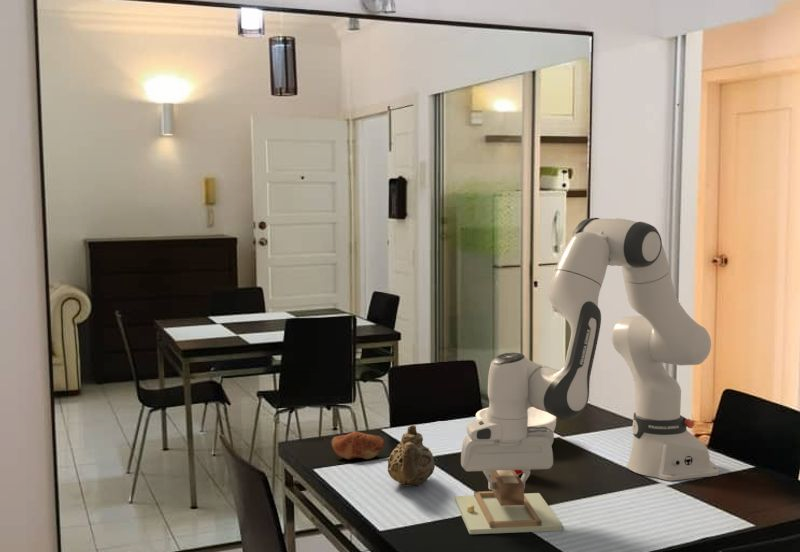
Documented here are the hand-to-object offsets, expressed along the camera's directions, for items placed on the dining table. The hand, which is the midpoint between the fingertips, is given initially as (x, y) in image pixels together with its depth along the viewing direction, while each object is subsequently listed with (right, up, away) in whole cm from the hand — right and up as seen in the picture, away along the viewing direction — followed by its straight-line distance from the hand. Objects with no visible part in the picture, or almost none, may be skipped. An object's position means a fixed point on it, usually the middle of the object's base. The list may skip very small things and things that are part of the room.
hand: (506, 488), depth 195 cm
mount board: (0, -6, +1) cm, 6 cm away
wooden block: (0, -2, 0) cm, 2 cm away
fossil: (-35, -2, +41) cm, 54 cm away
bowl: (+9, -1, +54) cm, 54 cm away
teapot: (-21, -4, +20) cm, 29 cm away
